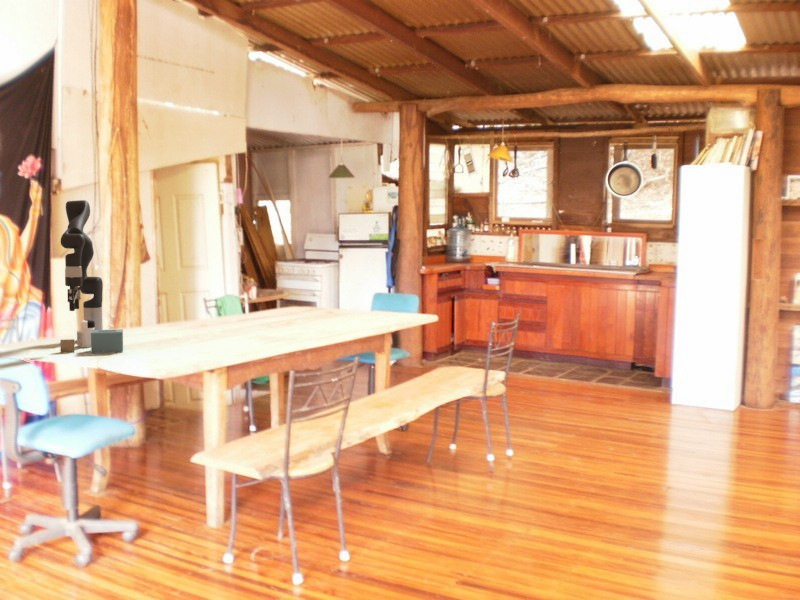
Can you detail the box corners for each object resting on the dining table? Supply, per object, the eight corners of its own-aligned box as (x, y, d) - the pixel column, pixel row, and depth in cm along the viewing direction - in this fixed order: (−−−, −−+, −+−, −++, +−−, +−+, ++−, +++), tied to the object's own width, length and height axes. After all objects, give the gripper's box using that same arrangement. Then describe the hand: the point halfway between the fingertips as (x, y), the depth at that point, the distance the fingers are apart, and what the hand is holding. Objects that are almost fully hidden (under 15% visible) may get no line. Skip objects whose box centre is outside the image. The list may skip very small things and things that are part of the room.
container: (91, 344, 417) (90, 319, 416) (99, 346, 412) (98, 320, 411) (76, 346, 411) (76, 320, 410) (85, 347, 406) (84, 321, 405)
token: (61, 352, 392) (60, 339, 391) (74, 351, 394) (74, 339, 393) (60, 352, 390) (60, 340, 390) (74, 352, 392) (73, 339, 392)
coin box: (92, 350, 399) (92, 330, 398) (123, 349, 403) (122, 329, 402) (91, 353, 390) (90, 332, 389) (122, 352, 394) (122, 332, 393)
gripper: (69, 274, 395) (69, 308, 397) (61, 276, 381) (62, 311, 383) (85, 275, 396) (86, 308, 398) (78, 276, 382) (79, 311, 384)
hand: (74, 309), depth 390 cm, fingers open, 8 cm apart
